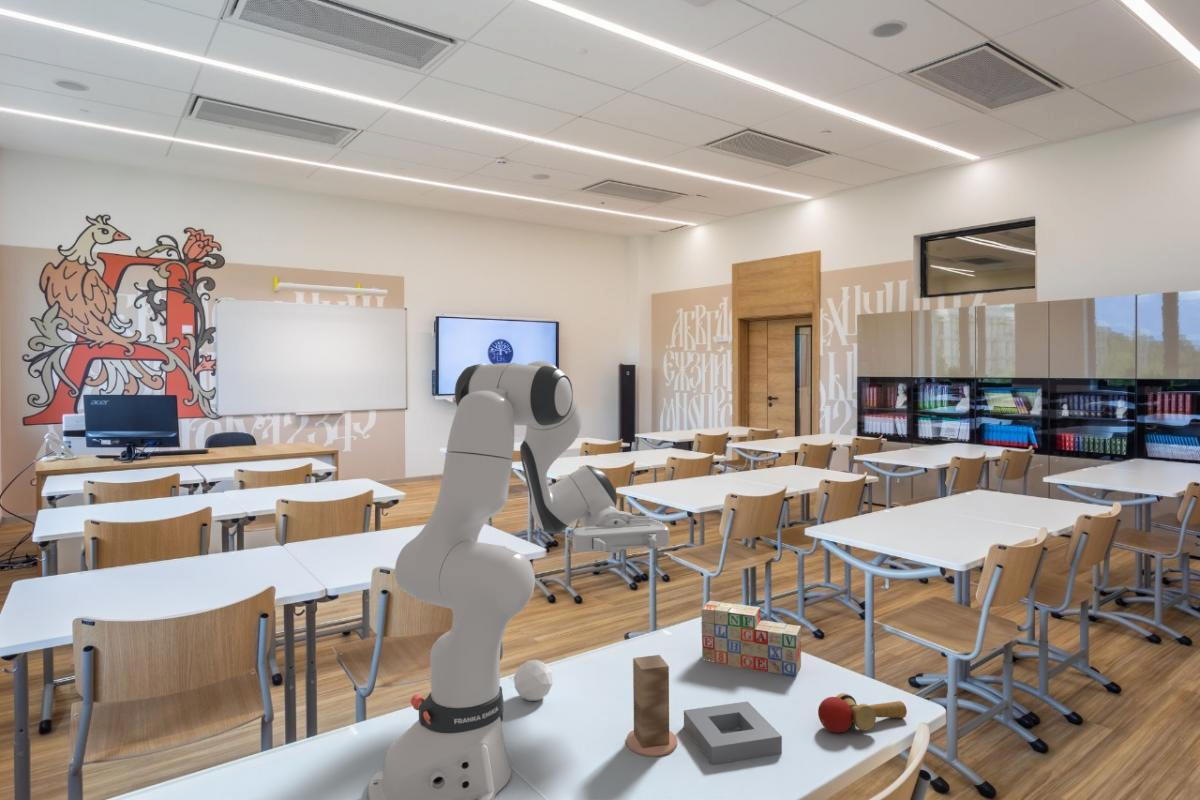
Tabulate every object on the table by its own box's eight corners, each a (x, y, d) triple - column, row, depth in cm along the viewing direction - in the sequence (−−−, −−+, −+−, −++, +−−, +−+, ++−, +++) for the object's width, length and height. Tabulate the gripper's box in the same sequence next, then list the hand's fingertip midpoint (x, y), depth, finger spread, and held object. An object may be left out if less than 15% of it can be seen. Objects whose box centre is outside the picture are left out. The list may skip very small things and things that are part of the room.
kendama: (882, 712, 134) (805, 715, 128) (890, 683, 133) (813, 685, 127) (910, 739, 127) (830, 743, 121) (919, 708, 126) (838, 711, 120)
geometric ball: (532, 716, 137) (518, 695, 132) (516, 688, 143) (502, 667, 138) (564, 692, 139) (551, 671, 134) (546, 666, 145) (533, 644, 141)
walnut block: (642, 748, 118) (641, 669, 118) (633, 734, 123) (633, 657, 123) (669, 744, 120) (668, 666, 119) (660, 730, 125) (659, 654, 124)
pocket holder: (711, 764, 114) (711, 747, 114) (683, 726, 127) (683, 710, 127) (781, 753, 118) (781, 736, 118) (747, 716, 130) (747, 701, 130)
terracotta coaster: (643, 762, 115) (643, 758, 115) (617, 737, 123) (617, 734, 123) (687, 747, 120) (687, 744, 120) (659, 724, 128) (659, 721, 128)
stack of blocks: (801, 666, 152) (801, 612, 152) (796, 678, 147) (796, 621, 146) (709, 650, 162) (709, 599, 162) (701, 660, 156) (700, 607, 156)
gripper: (564, 519, 144) (578, 534, 131) (656, 513, 149) (678, 527, 136) (565, 548, 145) (579, 566, 131) (656, 542, 150) (678, 558, 136)
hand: (630, 546), depth 134 cm, fingers open, 8 cm apart
